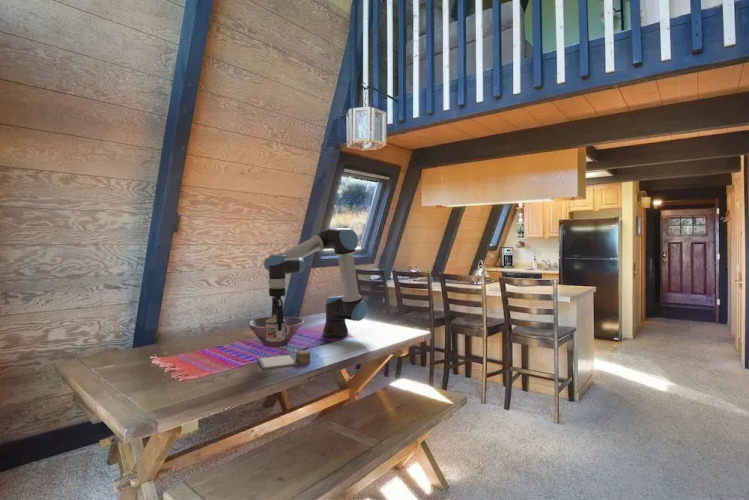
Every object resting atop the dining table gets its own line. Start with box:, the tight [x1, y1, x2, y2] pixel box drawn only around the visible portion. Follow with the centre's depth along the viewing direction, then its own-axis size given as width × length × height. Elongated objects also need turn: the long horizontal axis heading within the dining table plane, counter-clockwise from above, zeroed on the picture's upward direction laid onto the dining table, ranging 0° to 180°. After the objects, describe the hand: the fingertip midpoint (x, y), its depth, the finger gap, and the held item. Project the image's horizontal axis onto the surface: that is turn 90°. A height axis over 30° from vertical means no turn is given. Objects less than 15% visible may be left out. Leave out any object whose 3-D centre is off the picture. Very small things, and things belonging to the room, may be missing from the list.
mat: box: [257, 353, 299, 370], centre depth 196 cm, size 16×16×1 cm
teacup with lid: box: [264, 315, 290, 342], centre depth 194 cm, size 12×9×12 cm
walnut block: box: [295, 349, 311, 365], centre depth 195 cm, size 5×5×5 cm
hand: (277, 334), depth 195 cm, fingers closed on teacup with lid, 9 cm apart
